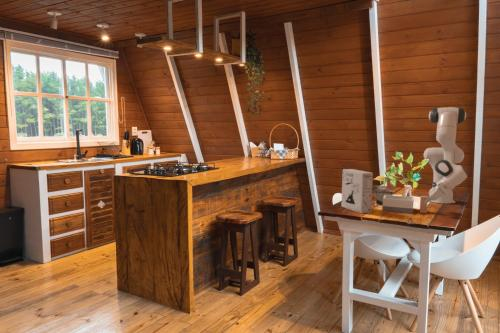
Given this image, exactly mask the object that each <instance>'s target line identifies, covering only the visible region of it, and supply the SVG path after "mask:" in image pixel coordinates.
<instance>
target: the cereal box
mask: <svg viewBox="0 0 500 333" xmlns="http://www.w3.org/2000/svg"><path fill="white" fill-rule="evenodd" d="M373 176H374V172H371V171H364V170H361V169H360V170H359V169H355V168H347V169H346V168H343V169H342V179H341V180H342V181H341V182H342V183H341V207H342V208H344V209H348V210H350V211H352V212H356V213H360V214H370V213H372V201H373V198H372V197H373Z"/></svg>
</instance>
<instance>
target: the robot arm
mask: <svg viewBox="0 0 500 333" xmlns="http://www.w3.org/2000/svg"><path fill="white" fill-rule="evenodd" d="M466 118H467V112H466V109H465V108H463V107H453V106H448V107H446V106H445V107H444V106H443V107H433V108H431V109H430V110H429V114H428V119H429V122H430V123H431V124H434V125H435V124H437V126H436V136H435V139H436V141H437V143H439V144H440V145H441V147H428V148H426V149H425V150H424V151H423V158H424V160H425V159H429V161H428V162H427V163H428V164H429V165H430V167H431V169H432V173H433V176H432V178H433V181H432V184H431V185H432V187H431V188H430V189H429V191H428V194H427V195H426V196H428V199H427V200H425V201H424V202H425V203H426V204H427V205H428V204H429V203H430V202H431V203H435V204H456V201H455V200H453V199H454V198H453V197H454V194H453V190H454V189H455V188H456V187H457V186H459V185H460V184H461V183H463V182H464V181H465V180H466V179H467V178H468V175H469V174H468V171H467V170H466V169H465V168H464V166H463V165H461V164H459V163H462V161H463V160H464V158H465V153H464V150H463V149H461V148H460V147H458V145H457V144H456V140H457V139H456V138H457V126H458V124H463V123H464V122H465V120H466ZM458 164H459V165H458Z"/></svg>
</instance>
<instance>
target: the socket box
mask: <svg viewBox="0 0 500 333" xmlns="http://www.w3.org/2000/svg"><path fill="white" fill-rule="evenodd" d="M381 206H382V212H395V213H404V214H405V213H406V214H407V213H408V214H413V213H414V196H407V195H406V196H405V195H395V194H393V195H384V197H383V205H381Z"/></svg>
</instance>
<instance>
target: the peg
mask: <svg viewBox="0 0 500 333" xmlns="http://www.w3.org/2000/svg"><path fill="white" fill-rule="evenodd" d="M427 199H428V196H427V195H420V201H419V202H420V203H419V213H421V214H427V211H428V203H427V204H426V203H425V202H424V201H425V200H427Z"/></svg>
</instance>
